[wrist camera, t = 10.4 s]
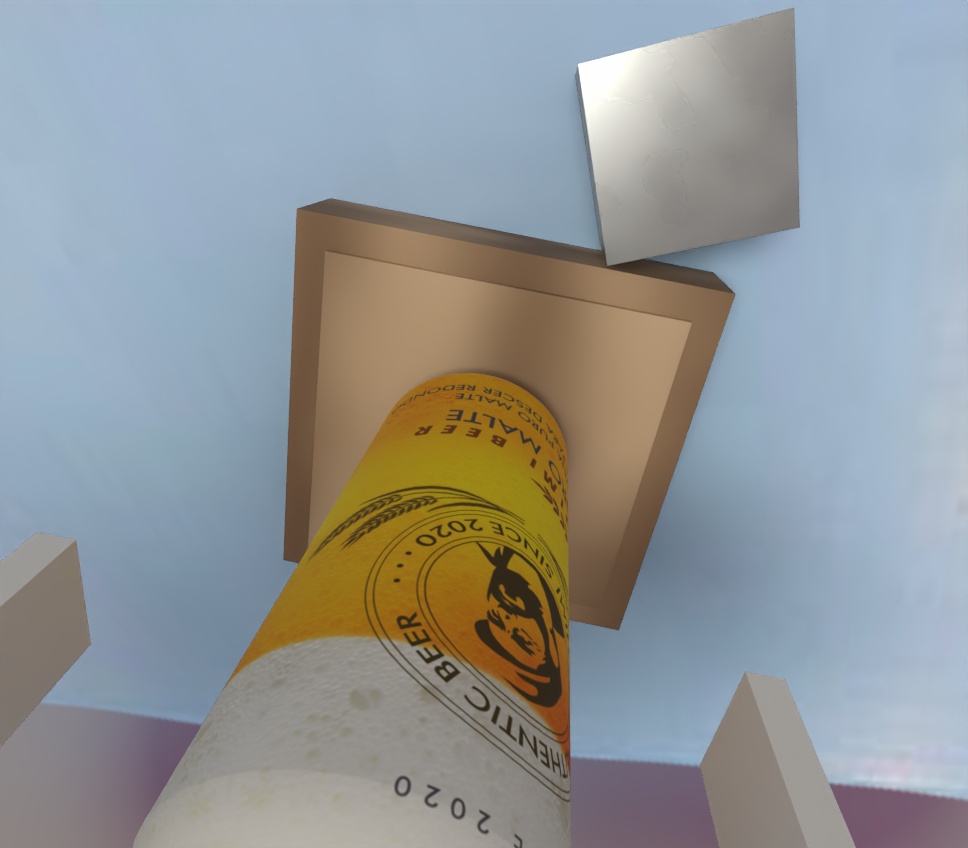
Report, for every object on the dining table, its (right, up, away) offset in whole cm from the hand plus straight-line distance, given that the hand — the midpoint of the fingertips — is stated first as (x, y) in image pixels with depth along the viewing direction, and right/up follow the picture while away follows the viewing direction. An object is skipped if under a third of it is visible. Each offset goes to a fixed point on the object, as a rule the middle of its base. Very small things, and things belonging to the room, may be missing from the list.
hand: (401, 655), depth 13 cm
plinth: (+2, +5, +11) cm, 13 cm away
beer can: (+1, +4, +9) cm, 10 cm away
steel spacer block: (+7, +13, +7) cm, 17 cm away
